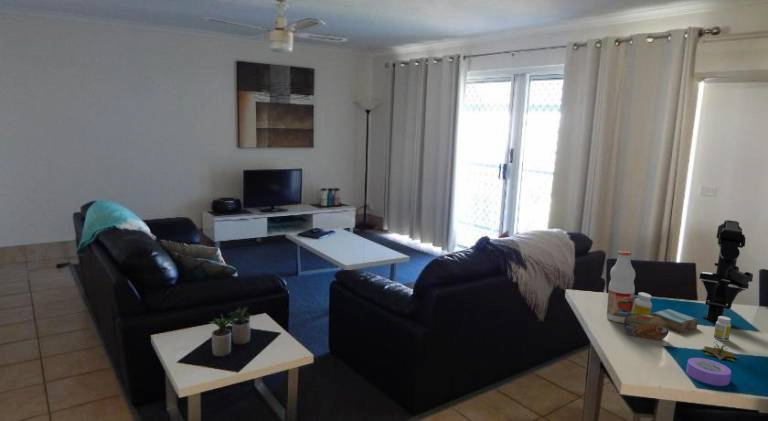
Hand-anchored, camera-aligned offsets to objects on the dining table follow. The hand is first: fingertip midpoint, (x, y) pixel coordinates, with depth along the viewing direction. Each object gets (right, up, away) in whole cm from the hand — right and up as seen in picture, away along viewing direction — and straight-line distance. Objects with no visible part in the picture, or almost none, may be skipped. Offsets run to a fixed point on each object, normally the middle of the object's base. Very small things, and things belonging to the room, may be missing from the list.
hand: (720, 302), depth 189 cm
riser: (-10, -11, +13) cm, 20 cm away
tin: (-29, -13, 0) cm, 32 cm away
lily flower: (-9, -16, -12) cm, 22 cm away
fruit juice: (-31, -10, +15) cm, 36 cm away
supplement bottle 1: (-26, -11, +10) cm, 30 cm away
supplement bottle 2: (+1, -14, +2) cm, 14 cm away
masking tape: (-24, -18, -30) cm, 42 cm away
